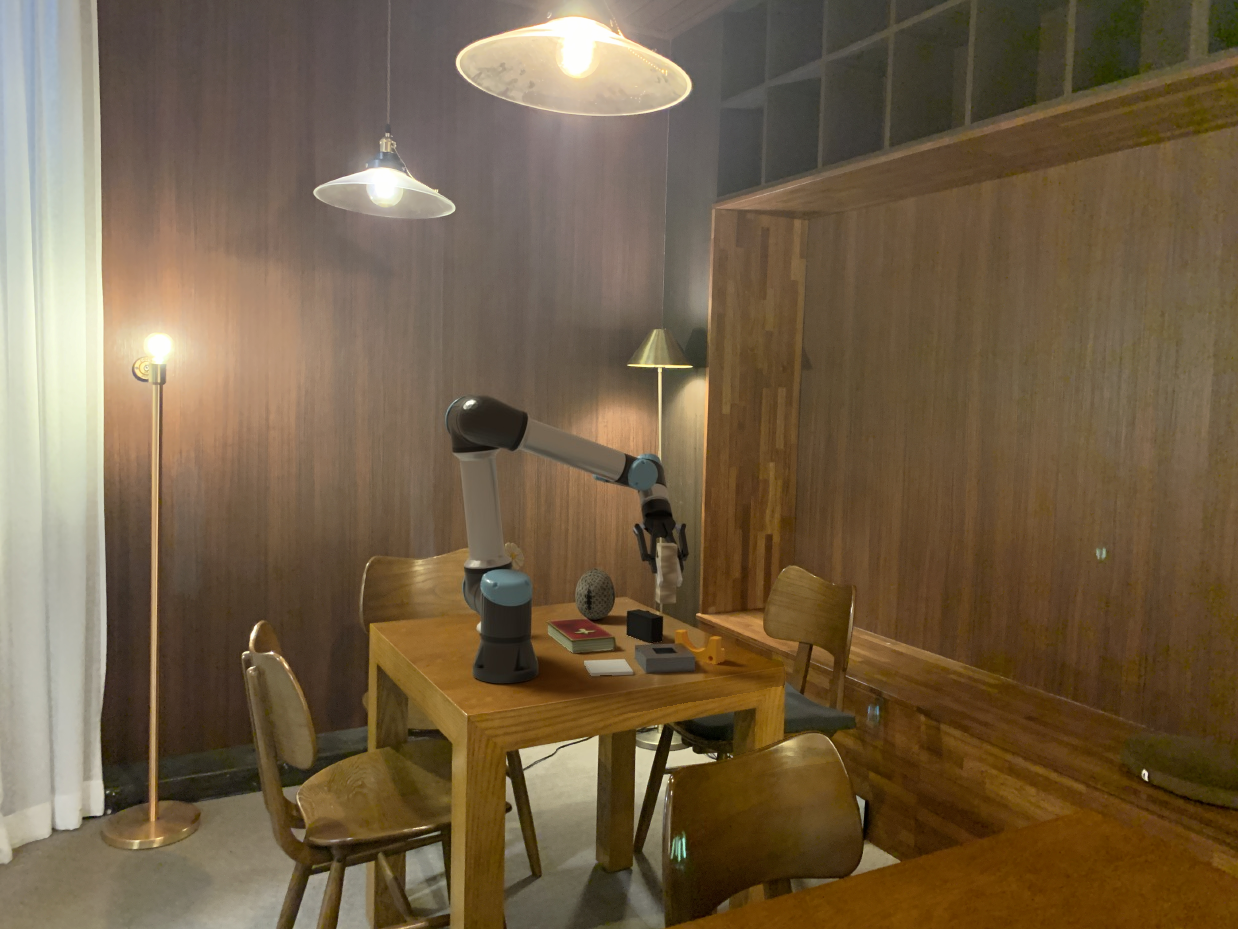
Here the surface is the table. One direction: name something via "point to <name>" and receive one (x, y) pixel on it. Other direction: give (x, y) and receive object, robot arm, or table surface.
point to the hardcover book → (580, 635)
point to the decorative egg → (595, 594)
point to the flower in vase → (516, 560)
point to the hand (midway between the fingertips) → (670, 583)
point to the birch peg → (667, 573)
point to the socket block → (664, 658)
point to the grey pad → (608, 667)
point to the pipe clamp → (708, 654)
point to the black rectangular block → (645, 626)
